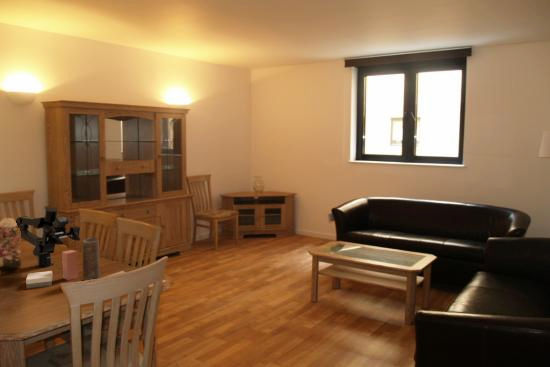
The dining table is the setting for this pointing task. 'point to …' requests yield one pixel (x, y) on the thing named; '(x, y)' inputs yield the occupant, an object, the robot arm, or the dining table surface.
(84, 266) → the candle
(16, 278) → the dining table surface
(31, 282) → the base block
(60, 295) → the dining table surface
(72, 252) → the top brick
